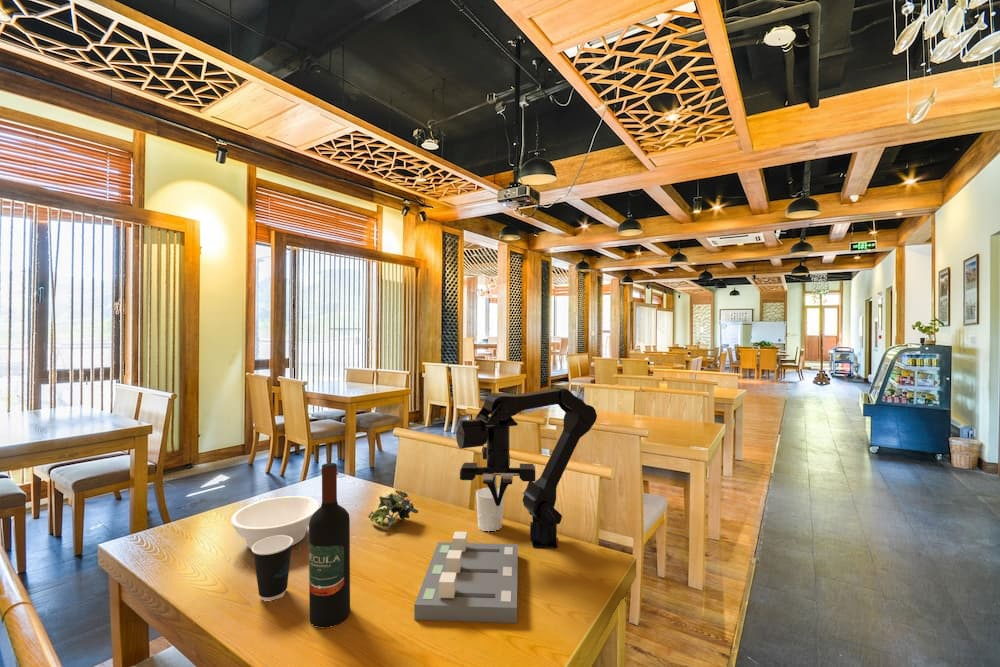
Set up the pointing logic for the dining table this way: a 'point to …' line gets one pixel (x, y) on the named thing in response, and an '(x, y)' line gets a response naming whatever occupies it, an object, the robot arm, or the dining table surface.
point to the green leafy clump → (393, 508)
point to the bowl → (275, 518)
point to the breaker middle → (454, 561)
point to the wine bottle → (329, 556)
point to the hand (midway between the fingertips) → (498, 505)
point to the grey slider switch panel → (472, 585)
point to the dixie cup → (272, 565)
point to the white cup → (488, 510)
